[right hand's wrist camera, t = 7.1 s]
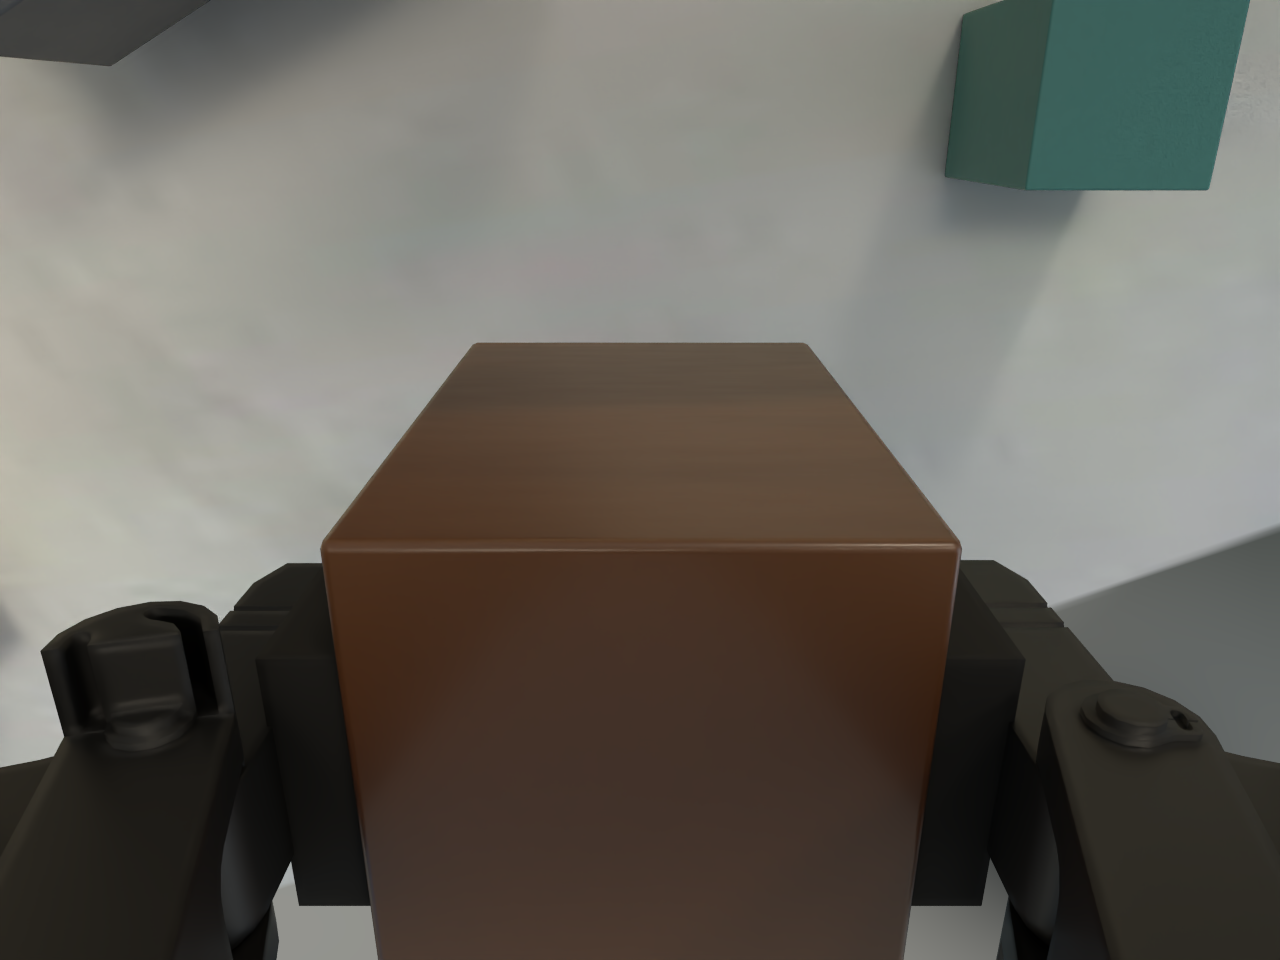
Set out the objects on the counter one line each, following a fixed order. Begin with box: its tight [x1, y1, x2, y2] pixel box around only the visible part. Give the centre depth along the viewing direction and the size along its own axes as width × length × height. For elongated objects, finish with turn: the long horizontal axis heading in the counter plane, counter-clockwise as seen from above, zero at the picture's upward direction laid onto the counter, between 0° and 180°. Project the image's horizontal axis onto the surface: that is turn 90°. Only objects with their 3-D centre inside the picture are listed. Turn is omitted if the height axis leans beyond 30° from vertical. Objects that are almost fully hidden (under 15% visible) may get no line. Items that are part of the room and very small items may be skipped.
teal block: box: [945, 0, 1250, 190], centre depth 27 cm, size 5×5×7 cm
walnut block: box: [320, 343, 962, 960], centre depth 11 cm, size 5×5×7 cm
